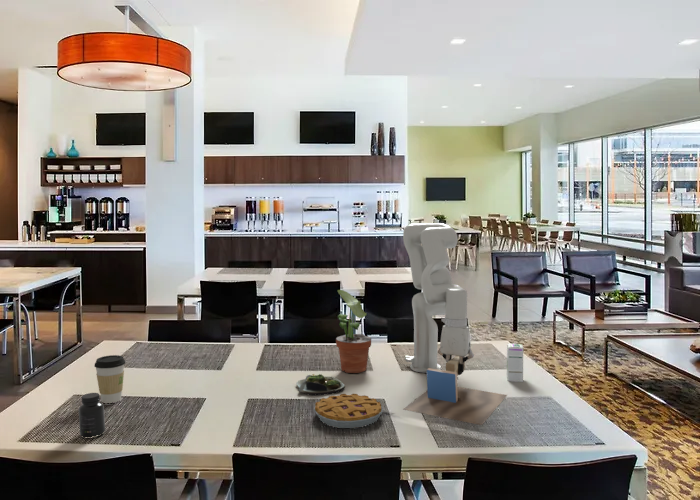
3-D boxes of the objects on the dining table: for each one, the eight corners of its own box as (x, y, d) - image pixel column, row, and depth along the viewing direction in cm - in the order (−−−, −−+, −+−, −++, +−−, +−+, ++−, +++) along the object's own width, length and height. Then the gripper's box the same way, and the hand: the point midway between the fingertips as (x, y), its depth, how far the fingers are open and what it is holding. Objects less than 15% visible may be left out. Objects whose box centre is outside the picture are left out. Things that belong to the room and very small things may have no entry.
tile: (427, 397, 192) (426, 370, 191) (429, 395, 194) (428, 367, 192) (455, 402, 188) (455, 374, 186) (457, 400, 189) (457, 372, 187)
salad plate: (288, 382, 215) (287, 370, 215) (332, 377, 221) (332, 365, 221) (301, 398, 197) (301, 386, 196) (349, 392, 203) (349, 380, 202)
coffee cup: (133, 398, 197) (131, 356, 195) (112, 407, 187) (110, 363, 186) (110, 394, 200) (108, 353, 199) (89, 404, 191) (87, 361, 189)
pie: (332, 437, 165) (332, 420, 164) (303, 412, 184) (303, 397, 184) (395, 423, 175) (395, 407, 174) (361, 401, 194) (361, 387, 194)
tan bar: (452, 384, 189) (452, 369, 189) (435, 381, 192) (435, 367, 192) (468, 370, 205) (468, 356, 204) (452, 367, 208) (452, 354, 207)
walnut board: (402, 413, 182) (402, 406, 182) (436, 386, 208) (436, 380, 208) (481, 429, 169) (481, 421, 169) (507, 399, 195) (507, 392, 195)
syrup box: (523, 385, 209) (524, 347, 208) (506, 384, 210) (507, 346, 209) (521, 381, 215) (522, 343, 213) (505, 380, 216) (506, 342, 215)
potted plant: (328, 374, 223) (328, 287, 220) (343, 363, 237) (343, 281, 234) (365, 378, 218) (365, 289, 214) (378, 367, 232) (378, 283, 228)
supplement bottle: (85, 430, 169) (83, 391, 168) (108, 429, 170) (106, 390, 169) (76, 440, 162) (74, 399, 161) (100, 439, 163) (98, 398, 162)
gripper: (430, 322, 200) (429, 372, 202) (475, 327, 192) (474, 379, 194) (437, 318, 207) (437, 367, 208) (481, 323, 199) (480, 373, 200)
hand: (455, 372), depth 201 cm, fingers closed on tan bar, 3 cm apart
